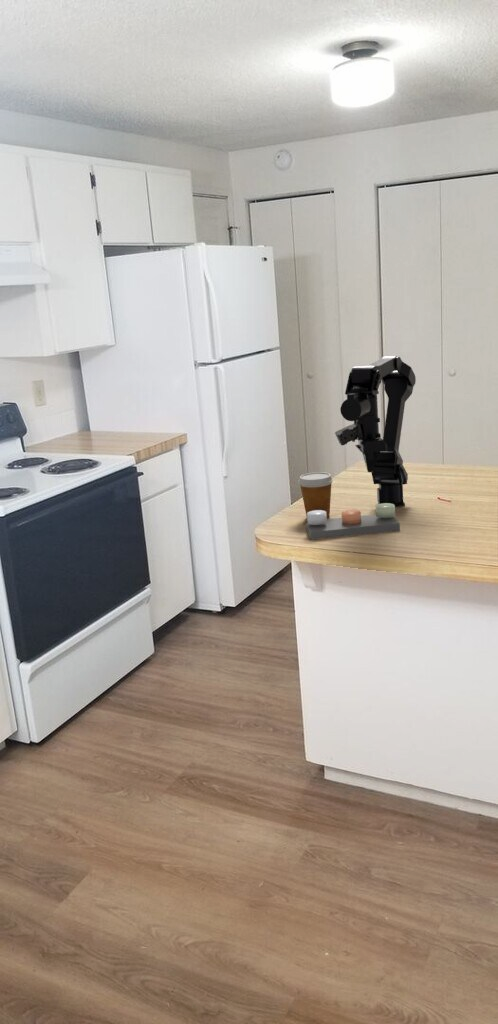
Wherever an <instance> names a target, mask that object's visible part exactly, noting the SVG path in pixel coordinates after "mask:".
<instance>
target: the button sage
mask: <svg viewBox="0 0 498 1024" xmlns="http://www.w3.org/2000/svg"><path fill="white" fill-rule="evenodd" d="M374 508H375V514H376V516H377V517H380V518H389V517H393V516H394V517H395V516H396V506H395V505H394V504H391V503H382V504H379V503H378V504H375V507H374Z"/></svg>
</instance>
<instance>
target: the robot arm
mask: <svg viewBox="0 0 498 1024" xmlns="http://www.w3.org/2000/svg"><path fill="white" fill-rule="evenodd" d="M347 378H348V379H347V382H346V387H345V393H344V394H345V395H346V399H345V400H344V401H343V402H342V404H341V406H340V408H339V409H340V410H339V411H340V414H341V416H342V418H343V419H344V420H346V421H348V422H353V423H352V424H349V425H348V426H345V427H343V428H341V429H338V430H336V431H335V432H334V434H335V437H336V439H337V441H338V443H339V444H340V446H345V445H347V444H348V443H350V442H352V443H355V442H356V440H357V442H358V443H357V444H355V447H356V449H358V450H359V452H361V453H362V457H363V460H364V463H365V467H366V471H367V473H371V477H372V483H373V485H378V488H376V496H377V502H378V504H382V503H391V504H394V505H395V507H401V506H405V505H406V503H405V502H404V485H407V484H408V479H409V478H408V476H409V474H408V472H407V471H406V468H405V466H404V465H403V464H404V461H403V457H402V455H401V454H400V442H401V436H402V429H403V419H404V413H405V405H406V402H407V400H409V398H410V396H412V394H413V391H414V387H415V385H416V381H417V380H416V375H415V373H414V371H413V368H412V367H411V366H410V365H408V364H407V363H405V362H404V361H403V360H402V358H401V357H400V356H398V355H390V356H389V355H387V356H386V355H385V356H383V357H381V358H380V359H378V360H377V361H374V362H372V363H370V364H369V365H358V366H357V365H355V366H353V367H351V370H350V372H349V374H348V377H347ZM382 383H383V385H384V386H383V389H384V392H385V393H386V395H387V398H388V401H387V405H386V406H387V408H386V413H385V414H386V415H385V422H384V428H383V436H381V433H380V429H379V427H380V426H379V423H381V419H380V417H379V412H378V411H379V409H378V407H379V405H378V395H379V389H380V384H382ZM381 437H382V438H381Z"/></svg>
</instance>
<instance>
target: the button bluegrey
mask: <svg viewBox="0 0 498 1024" xmlns="http://www.w3.org/2000/svg"><path fill="white" fill-rule="evenodd" d="M306 519H307V521H308V524H311V525H320V524H324V523H326V522H327V515H326V511H323V510H314V511H310V512H308V513H307V516H306Z"/></svg>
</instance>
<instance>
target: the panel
mask: <svg viewBox="0 0 498 1024" xmlns="http://www.w3.org/2000/svg"><path fill="white" fill-rule="evenodd" d="M400 524H401V523H400V522H399V520H398V519H397V518H396V517H395V516H393V517H389V518H380V517H377V516H376V513H374V514H365V515H361V522H360V523H358V524H353V525H347V524H343V523H342V517H336V518H335V517H334V518H328V519H327V522H326V523H324V524H320V525H311V524H308V520H307V521H306V520H305V529H306V531H307V534H308V536H309V538H310V540H311V541H312V540H320V539H331V538H339V537H340V538H341V537H350V536H358V535H368V534H369V535H370V534H379V533H389V532H396V531H398V532H399V531H400V530H401V525H400Z"/></svg>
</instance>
